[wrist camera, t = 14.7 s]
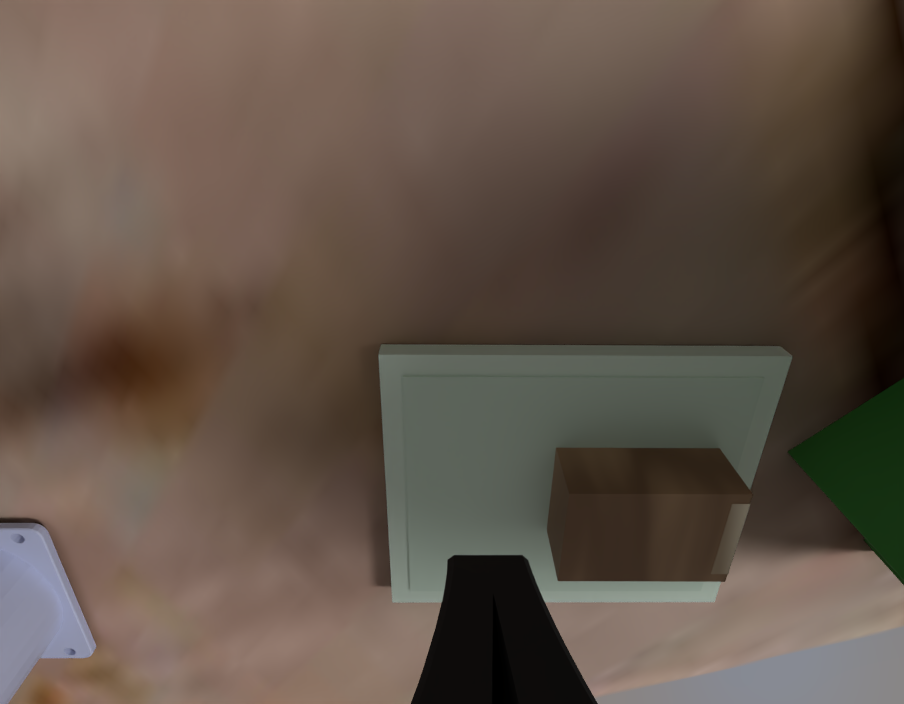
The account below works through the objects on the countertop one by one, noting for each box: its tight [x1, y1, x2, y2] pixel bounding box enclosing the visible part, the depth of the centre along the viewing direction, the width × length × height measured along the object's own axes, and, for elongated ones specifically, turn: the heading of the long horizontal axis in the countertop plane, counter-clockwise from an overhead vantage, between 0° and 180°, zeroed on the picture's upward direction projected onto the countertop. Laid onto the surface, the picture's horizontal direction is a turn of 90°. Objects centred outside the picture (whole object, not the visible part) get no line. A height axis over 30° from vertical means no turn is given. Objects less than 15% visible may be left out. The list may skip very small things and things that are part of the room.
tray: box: [378, 344, 793, 602], centre depth 22 cm, size 14×12×1 cm
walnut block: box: [547, 448, 753, 582], centre depth 20 cm, size 2×4×6 cm
